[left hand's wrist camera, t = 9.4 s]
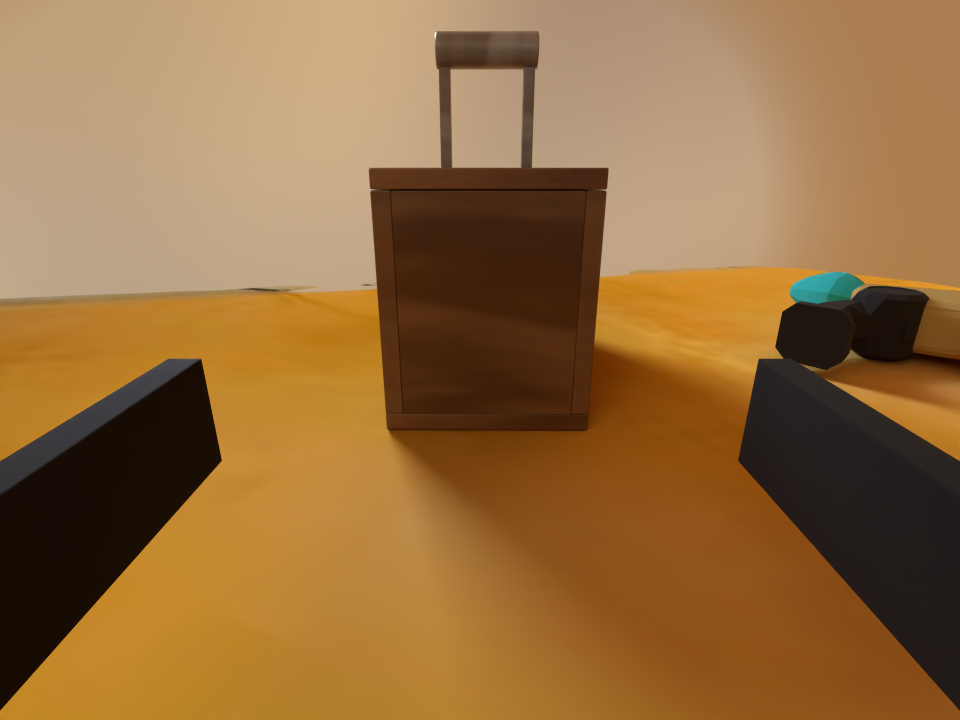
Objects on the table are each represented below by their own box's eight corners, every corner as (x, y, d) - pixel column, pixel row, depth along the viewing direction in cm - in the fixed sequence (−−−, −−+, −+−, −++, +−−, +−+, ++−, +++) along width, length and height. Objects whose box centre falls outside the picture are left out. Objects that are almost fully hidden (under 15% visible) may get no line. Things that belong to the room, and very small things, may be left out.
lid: (420, 180, 37) (415, 39, 34) (552, 180, 37) (558, 39, 34) (369, 189, 21) (350, -84, 18) (607, 189, 21) (629, -85, 17)
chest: (424, 327, 40) (418, 181, 36) (546, 328, 40) (553, 181, 36) (386, 429, 24) (370, 190, 21) (587, 430, 24) (607, 190, 21)
